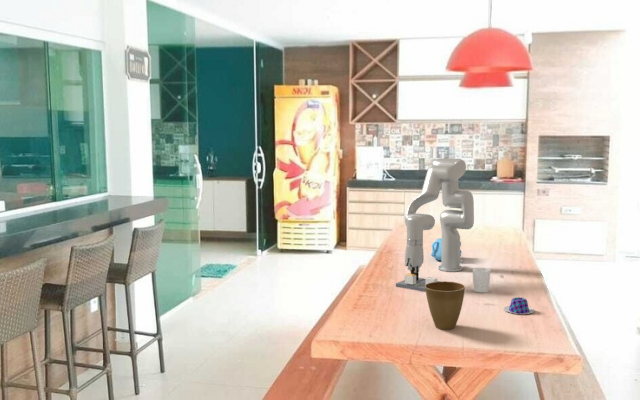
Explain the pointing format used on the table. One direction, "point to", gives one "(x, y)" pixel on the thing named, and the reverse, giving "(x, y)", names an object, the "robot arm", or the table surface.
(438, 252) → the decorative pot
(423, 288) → the breaker panel
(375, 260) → the table surface
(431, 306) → the plant pot
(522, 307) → the purple patterned hat
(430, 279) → the block
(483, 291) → the white cup
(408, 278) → the block
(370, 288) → the table surface
